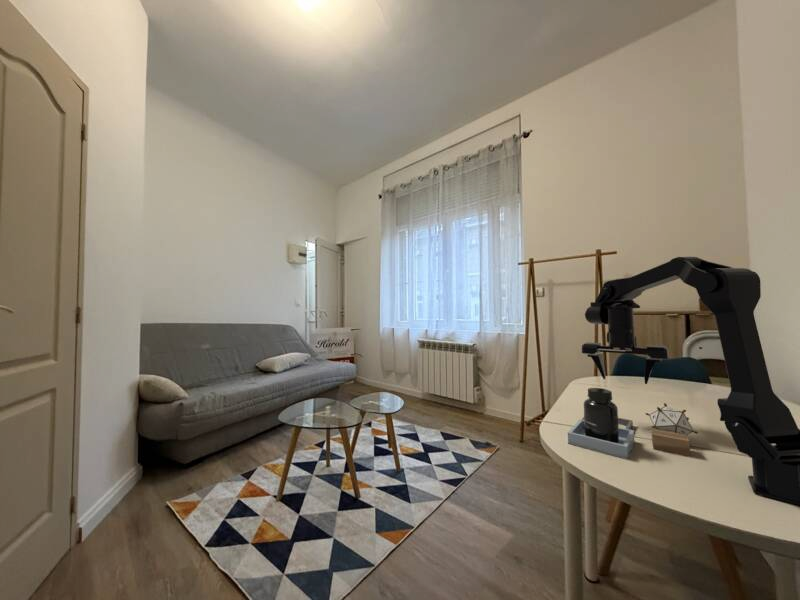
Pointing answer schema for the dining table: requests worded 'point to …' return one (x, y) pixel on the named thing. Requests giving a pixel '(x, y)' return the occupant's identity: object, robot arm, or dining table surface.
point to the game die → (671, 420)
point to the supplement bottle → (601, 415)
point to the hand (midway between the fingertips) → (624, 381)
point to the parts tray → (602, 441)
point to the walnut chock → (670, 442)
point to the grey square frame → (624, 422)
